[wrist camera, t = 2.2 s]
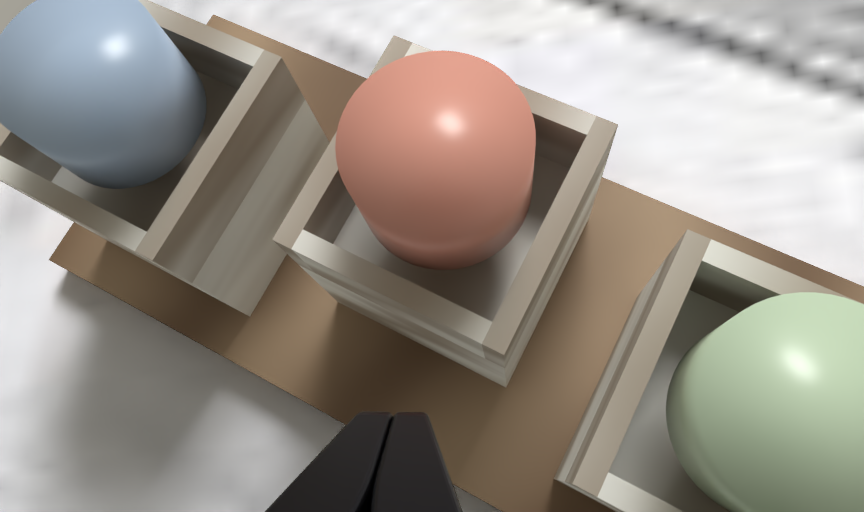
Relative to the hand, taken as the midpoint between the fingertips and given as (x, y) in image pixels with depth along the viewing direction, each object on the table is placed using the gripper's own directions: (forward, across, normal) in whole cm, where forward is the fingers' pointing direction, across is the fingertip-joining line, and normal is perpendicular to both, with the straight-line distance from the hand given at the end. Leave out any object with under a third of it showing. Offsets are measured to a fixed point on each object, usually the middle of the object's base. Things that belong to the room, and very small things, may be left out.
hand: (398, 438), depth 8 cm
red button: (+8, 0, 0) cm, 8 cm away
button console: (+12, 0, +5) cm, 13 cm away
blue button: (+9, +8, -1) cm, 12 cm away
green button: (+4, -6, +4) cm, 8 cm away
